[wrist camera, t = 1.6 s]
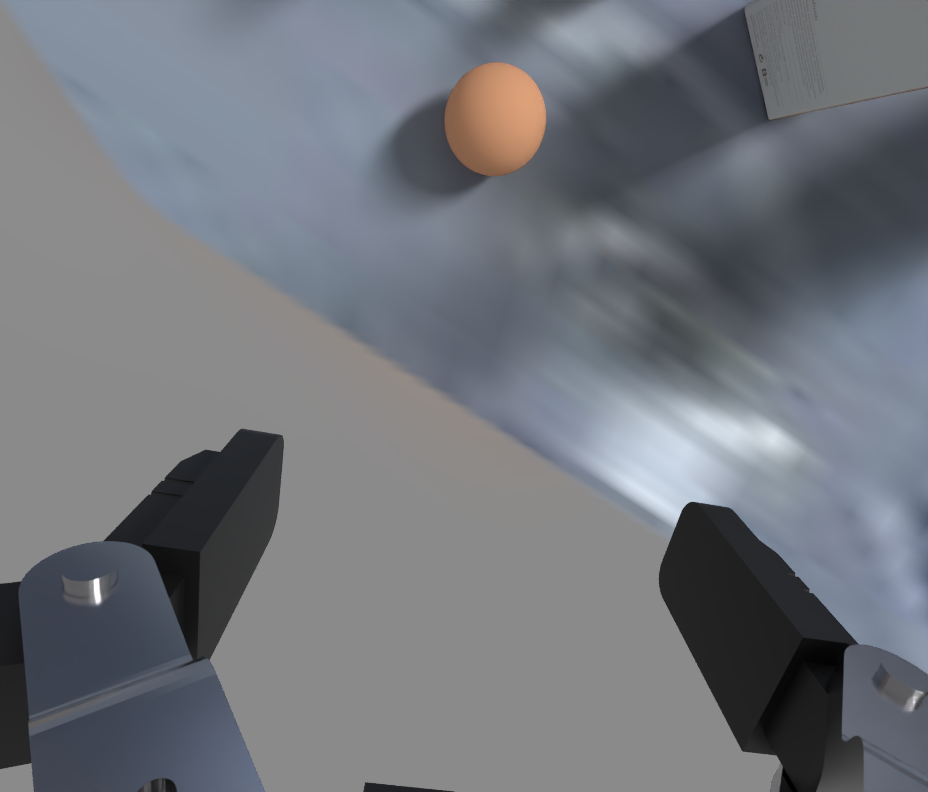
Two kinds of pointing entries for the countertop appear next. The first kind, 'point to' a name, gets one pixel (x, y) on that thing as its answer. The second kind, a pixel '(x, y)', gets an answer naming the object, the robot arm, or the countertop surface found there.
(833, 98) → the small box
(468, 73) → the ball
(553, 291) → the countertop surface
